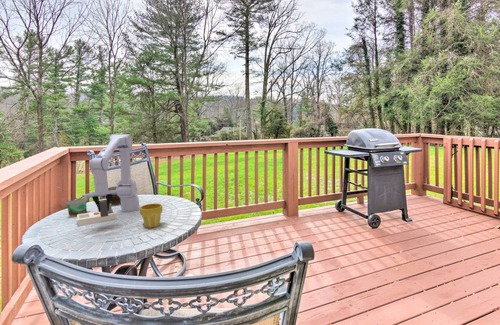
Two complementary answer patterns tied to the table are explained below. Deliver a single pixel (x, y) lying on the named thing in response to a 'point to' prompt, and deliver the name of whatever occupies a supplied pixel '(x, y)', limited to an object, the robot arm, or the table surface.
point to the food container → (77, 206)
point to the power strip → (94, 218)
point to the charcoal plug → (110, 209)
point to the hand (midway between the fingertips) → (103, 210)
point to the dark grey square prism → (103, 208)
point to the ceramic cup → (114, 197)
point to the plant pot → (151, 214)
